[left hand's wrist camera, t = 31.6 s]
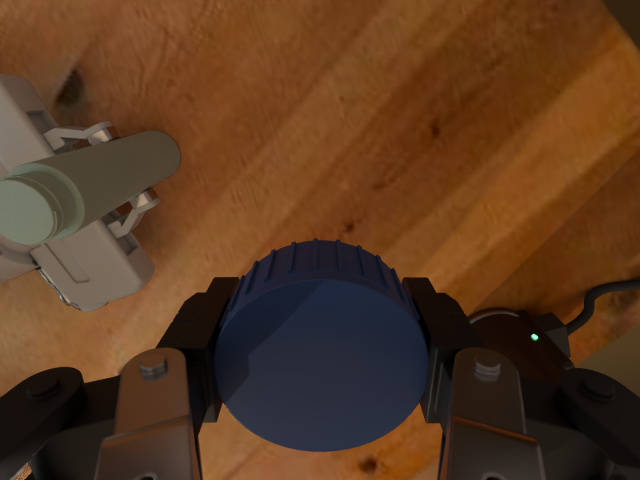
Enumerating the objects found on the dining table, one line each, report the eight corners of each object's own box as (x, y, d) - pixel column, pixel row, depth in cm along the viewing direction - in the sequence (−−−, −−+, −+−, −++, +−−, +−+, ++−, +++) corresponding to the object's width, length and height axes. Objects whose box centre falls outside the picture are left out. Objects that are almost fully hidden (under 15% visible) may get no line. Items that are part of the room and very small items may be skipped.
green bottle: (135, 175, 39) (-16, 248, 22) (131, 127, 37) (-37, 165, 20) (181, 180, 39) (68, 256, 22) (179, 132, 37) (55, 175, 20)
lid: (253, 400, 12) (239, 464, 10) (208, 252, 10) (180, 295, 8) (417, 379, 12) (438, 441, 10) (403, 222, 10) (426, 259, 8)
